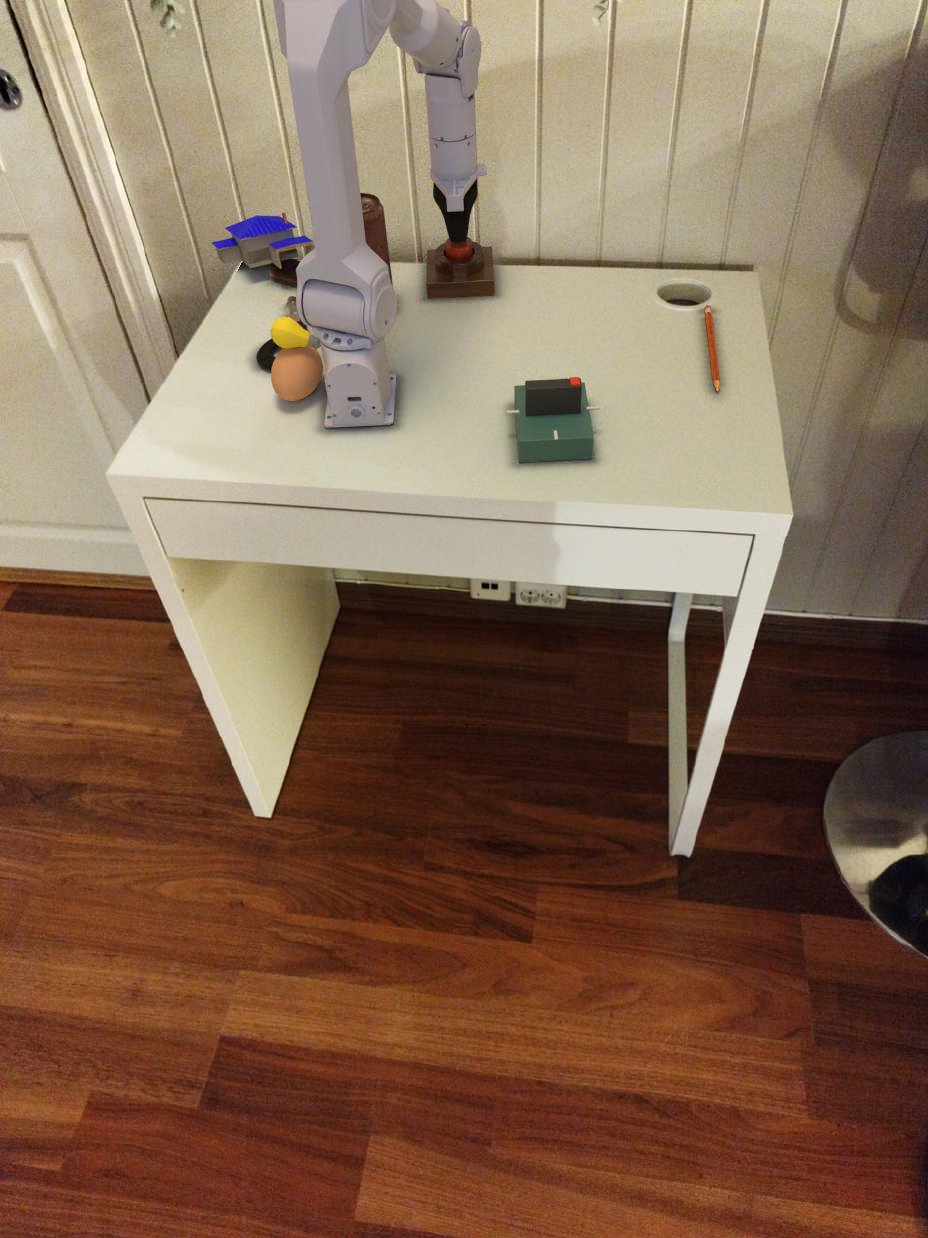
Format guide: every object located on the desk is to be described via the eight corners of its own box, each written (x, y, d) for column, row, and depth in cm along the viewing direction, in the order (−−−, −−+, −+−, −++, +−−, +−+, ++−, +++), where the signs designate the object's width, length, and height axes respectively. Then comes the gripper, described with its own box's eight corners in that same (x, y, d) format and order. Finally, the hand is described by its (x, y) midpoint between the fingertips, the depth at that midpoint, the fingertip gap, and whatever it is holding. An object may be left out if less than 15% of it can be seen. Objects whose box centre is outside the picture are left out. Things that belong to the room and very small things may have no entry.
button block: (494, 295, 125) (493, 267, 122) (427, 298, 126) (424, 270, 122) (492, 260, 131) (491, 233, 128) (428, 264, 131) (425, 236, 128)
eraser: (280, 254, 132) (282, 266, 133) (262, 267, 129) (265, 279, 131) (346, 271, 128) (348, 283, 129) (329, 285, 126) (331, 297, 127)
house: (236, 279, 124) (225, 234, 121) (215, 258, 135) (204, 217, 132) (317, 260, 127) (308, 216, 124) (290, 241, 138) (281, 201, 135)
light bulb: (271, 341, 110) (277, 310, 109) (320, 356, 111) (327, 326, 109) (264, 345, 107) (271, 314, 106) (315, 361, 108) (322, 331, 106)
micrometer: (258, 373, 115) (269, 388, 117) (308, 345, 114) (319, 362, 116) (248, 315, 125) (258, 330, 127) (295, 289, 124) (304, 305, 126)
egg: (313, 324, 110) (287, 368, 105) (340, 363, 114) (317, 407, 109) (276, 337, 113) (250, 381, 108) (304, 375, 117) (280, 419, 112)
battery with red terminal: (525, 415, 103) (525, 387, 100) (525, 406, 104) (525, 378, 101) (580, 413, 103) (582, 384, 100) (579, 404, 104) (580, 375, 101)
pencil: (710, 309, 120) (711, 304, 120) (720, 394, 109) (721, 389, 108) (704, 309, 120) (704, 304, 120) (713, 394, 109) (714, 389, 108)
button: (472, 260, 124) (472, 247, 123) (445, 261, 124) (444, 249, 123) (472, 246, 127) (471, 234, 125) (445, 248, 127) (444, 235, 125)
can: (342, 299, 126) (325, 196, 116) (388, 289, 127) (375, 186, 117) (352, 322, 123) (336, 218, 112) (399, 312, 124) (387, 208, 113)
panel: (602, 459, 102) (604, 436, 100) (508, 463, 103) (508, 440, 100) (592, 402, 109) (594, 379, 107) (505, 406, 109) (504, 383, 107)
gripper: (486, 156, 109) (490, 265, 119) (483, 105, 118) (487, 211, 129) (426, 159, 109) (434, 268, 119) (427, 108, 119) (435, 214, 129)
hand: (458, 239), depth 124 cm, fingers closed
